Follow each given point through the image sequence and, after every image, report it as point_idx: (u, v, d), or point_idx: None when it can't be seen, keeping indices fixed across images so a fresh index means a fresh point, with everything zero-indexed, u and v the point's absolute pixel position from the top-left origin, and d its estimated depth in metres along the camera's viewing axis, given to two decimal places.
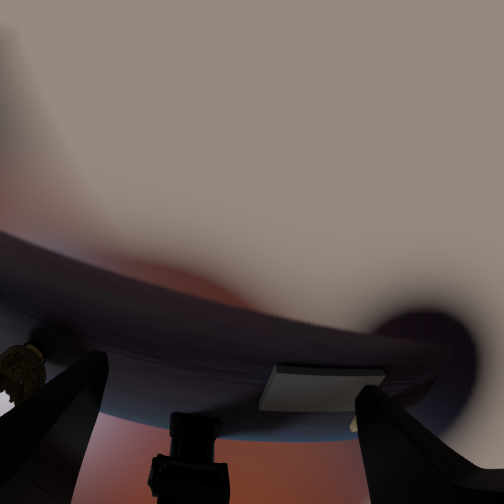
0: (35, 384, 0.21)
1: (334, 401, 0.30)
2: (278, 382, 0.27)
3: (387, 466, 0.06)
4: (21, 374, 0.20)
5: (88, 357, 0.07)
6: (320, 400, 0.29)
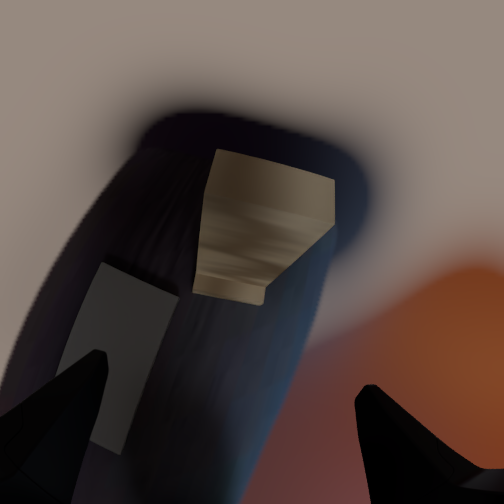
0: None
1: (127, 346, 0.19)
2: None
3: (387, 466, 0.06)
4: None
5: (89, 357, 0.07)
6: (115, 368, 0.18)
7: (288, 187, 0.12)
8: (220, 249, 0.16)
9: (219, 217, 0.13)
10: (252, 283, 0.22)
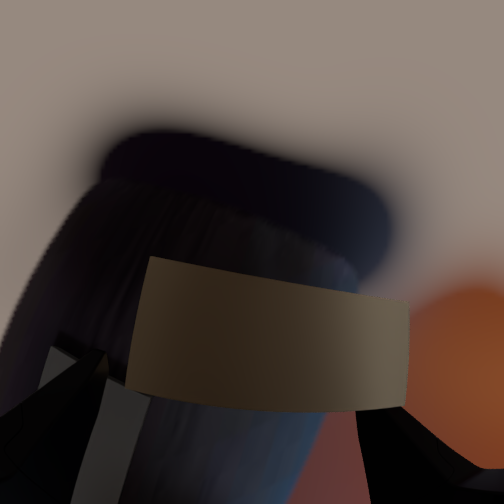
0: None
1: (94, 451, 0.11)
2: None
3: (387, 466, 0.06)
4: None
5: (88, 357, 0.07)
6: (84, 472, 0.11)
7: (323, 349, 0.05)
8: None
9: None
10: None
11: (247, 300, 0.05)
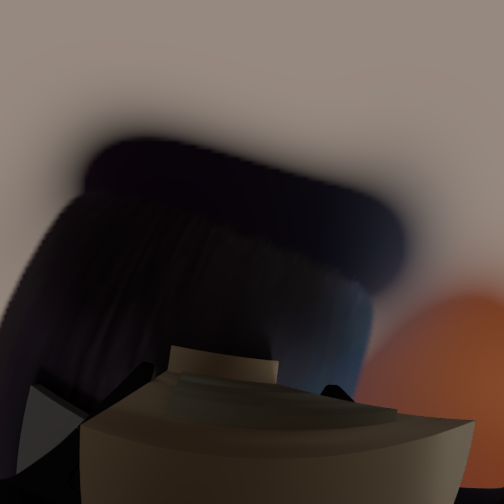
0: None
1: None
2: None
3: None
4: None
5: (139, 371, 0.07)
6: None
7: None
8: None
9: None
10: None
11: (255, 493, 0.02)
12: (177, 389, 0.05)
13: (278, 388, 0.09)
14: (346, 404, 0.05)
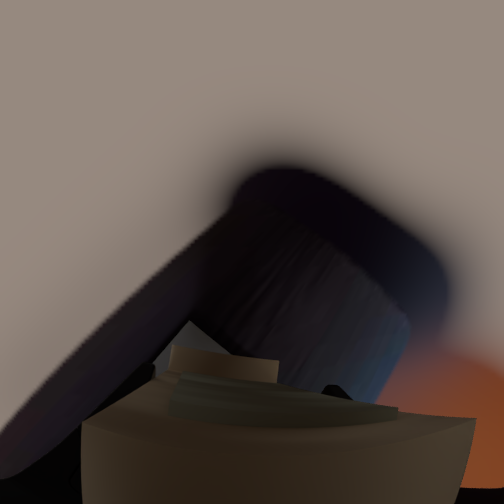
0: None
1: None
2: None
3: None
4: None
5: (139, 371, 0.07)
6: None
7: None
8: None
9: None
10: None
11: (257, 491, 0.02)
12: (178, 387, 0.05)
13: (279, 387, 0.09)
14: (347, 402, 0.05)
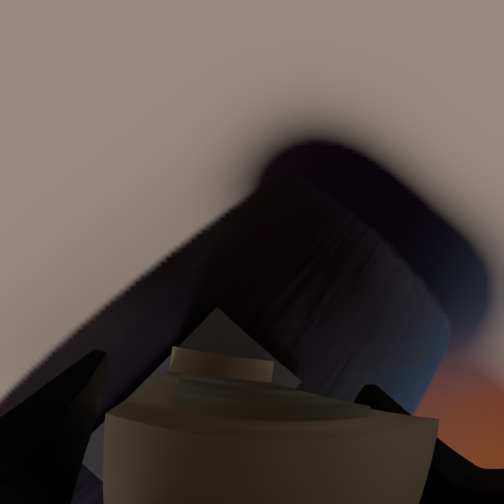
0: None
1: None
2: (94, 464, 0.11)
3: None
4: None
5: (89, 357, 0.07)
6: None
7: (332, 498, 0.03)
8: None
9: None
10: None
11: (240, 467, 0.03)
12: (179, 386, 0.06)
13: (271, 386, 0.10)
14: (327, 400, 0.06)
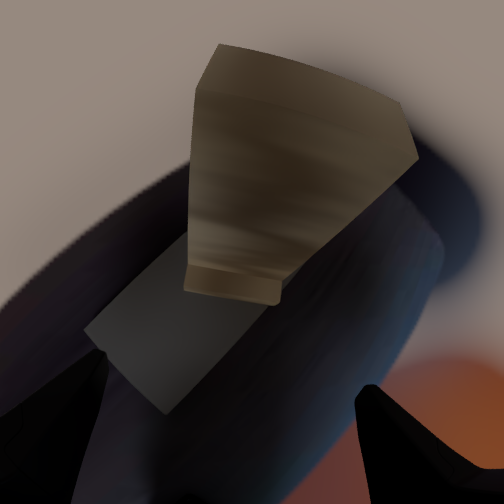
0: None
1: None
2: (105, 341, 0.14)
3: (387, 465, 0.06)
4: None
5: (88, 357, 0.07)
6: (212, 305, 0.17)
7: (340, 97, 0.06)
8: (222, 220, 0.11)
9: (222, 150, 0.07)
10: (265, 276, 0.16)
11: (284, 65, 0.06)
12: None
13: None
14: None
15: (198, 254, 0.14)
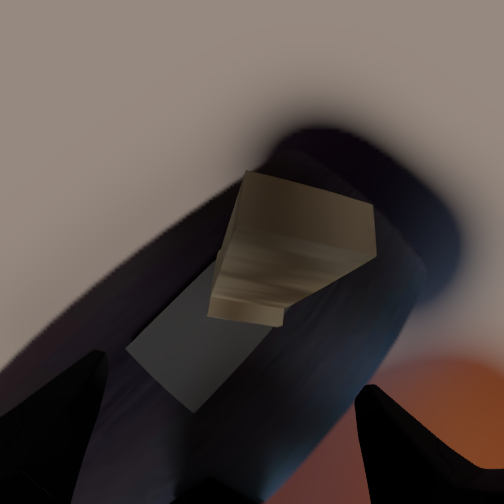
0: None
1: None
2: (144, 357, 0.19)
3: (387, 466, 0.06)
4: None
5: (88, 357, 0.07)
6: (229, 328, 0.21)
7: (327, 216, 0.11)
8: (243, 277, 0.15)
9: (249, 249, 0.11)
10: (271, 305, 0.21)
11: (291, 190, 0.11)
12: None
13: None
14: None
15: (221, 292, 0.19)
